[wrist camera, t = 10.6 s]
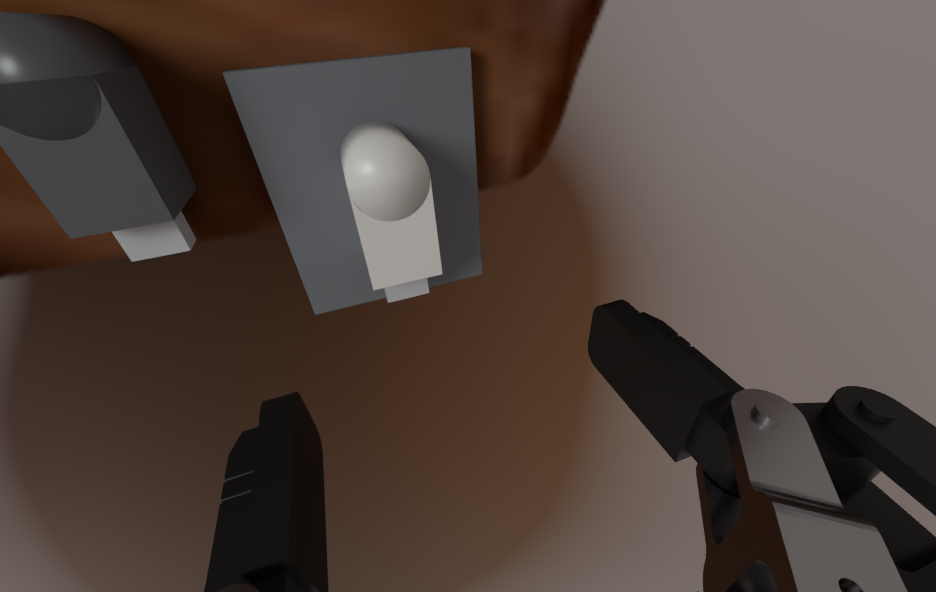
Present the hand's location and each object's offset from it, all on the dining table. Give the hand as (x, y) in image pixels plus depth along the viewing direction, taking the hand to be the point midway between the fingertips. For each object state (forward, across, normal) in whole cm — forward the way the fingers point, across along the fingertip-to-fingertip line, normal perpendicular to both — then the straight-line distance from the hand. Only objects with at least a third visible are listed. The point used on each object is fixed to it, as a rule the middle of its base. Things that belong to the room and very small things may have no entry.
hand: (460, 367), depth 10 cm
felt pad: (+15, 0, 0) cm, 15 cm away
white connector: (+14, 0, +1) cm, 14 cm away
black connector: (+15, +10, -4) cm, 19 cm away
